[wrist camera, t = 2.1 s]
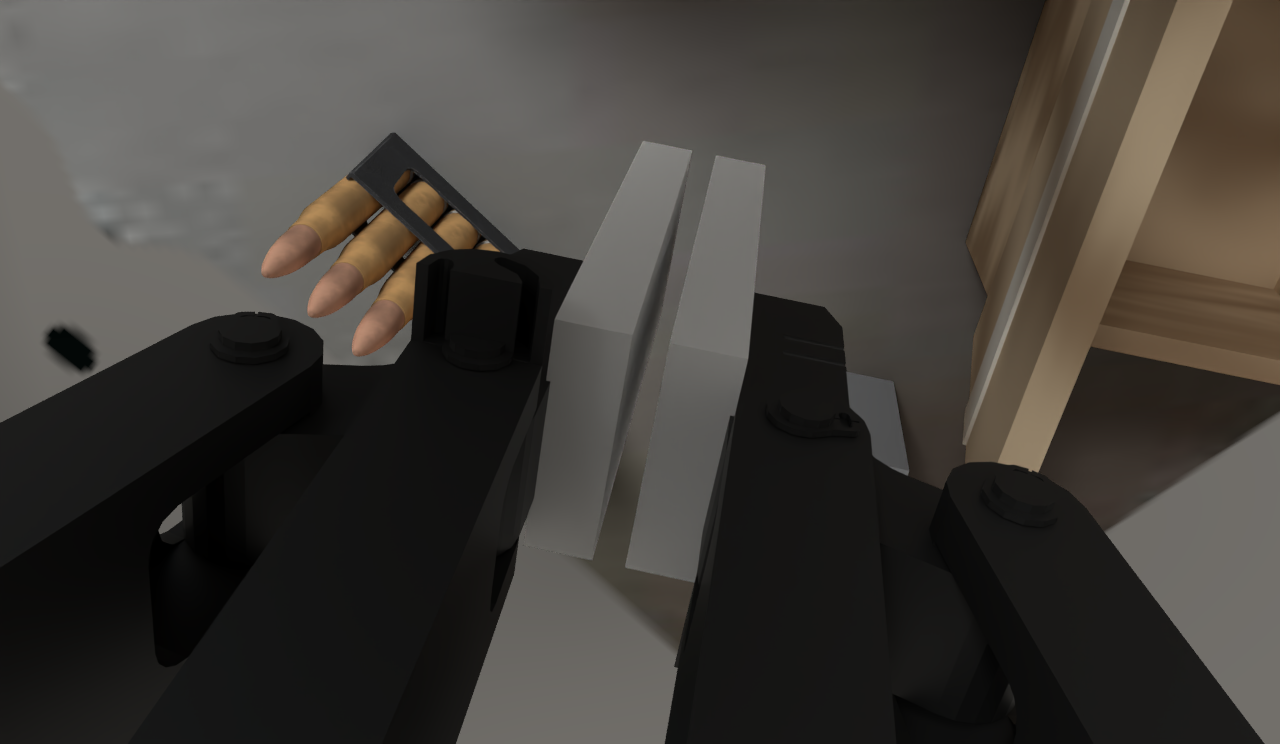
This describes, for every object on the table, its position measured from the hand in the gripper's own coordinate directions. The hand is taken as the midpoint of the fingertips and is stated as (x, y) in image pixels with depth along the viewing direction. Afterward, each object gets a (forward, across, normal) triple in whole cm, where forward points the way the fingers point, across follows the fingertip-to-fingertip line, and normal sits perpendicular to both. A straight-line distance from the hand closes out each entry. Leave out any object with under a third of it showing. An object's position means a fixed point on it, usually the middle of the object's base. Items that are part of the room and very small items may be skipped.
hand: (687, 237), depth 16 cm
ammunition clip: (+25, -9, -11) cm, 29 cm away
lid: (+10, +9, 0) cm, 13 cm away
